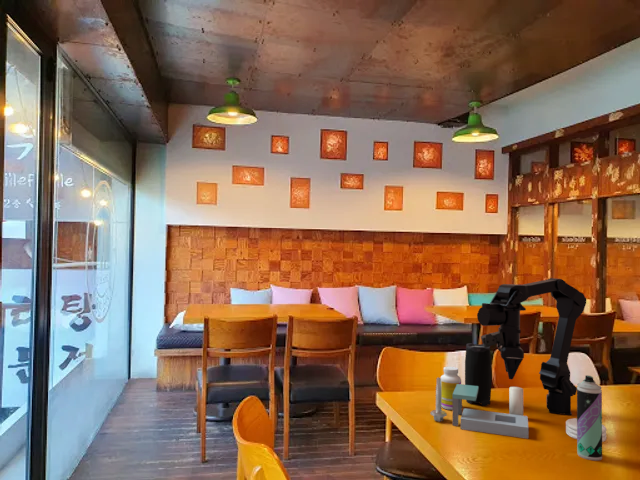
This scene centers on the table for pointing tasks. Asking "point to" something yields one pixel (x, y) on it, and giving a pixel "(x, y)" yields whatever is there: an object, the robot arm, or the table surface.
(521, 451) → the table surface
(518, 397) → the peg
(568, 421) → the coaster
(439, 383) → the screw
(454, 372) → the supplement bottle
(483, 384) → the portable speaker
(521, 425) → the socket board
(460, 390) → the l-shaped bracket
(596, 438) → the spray can
